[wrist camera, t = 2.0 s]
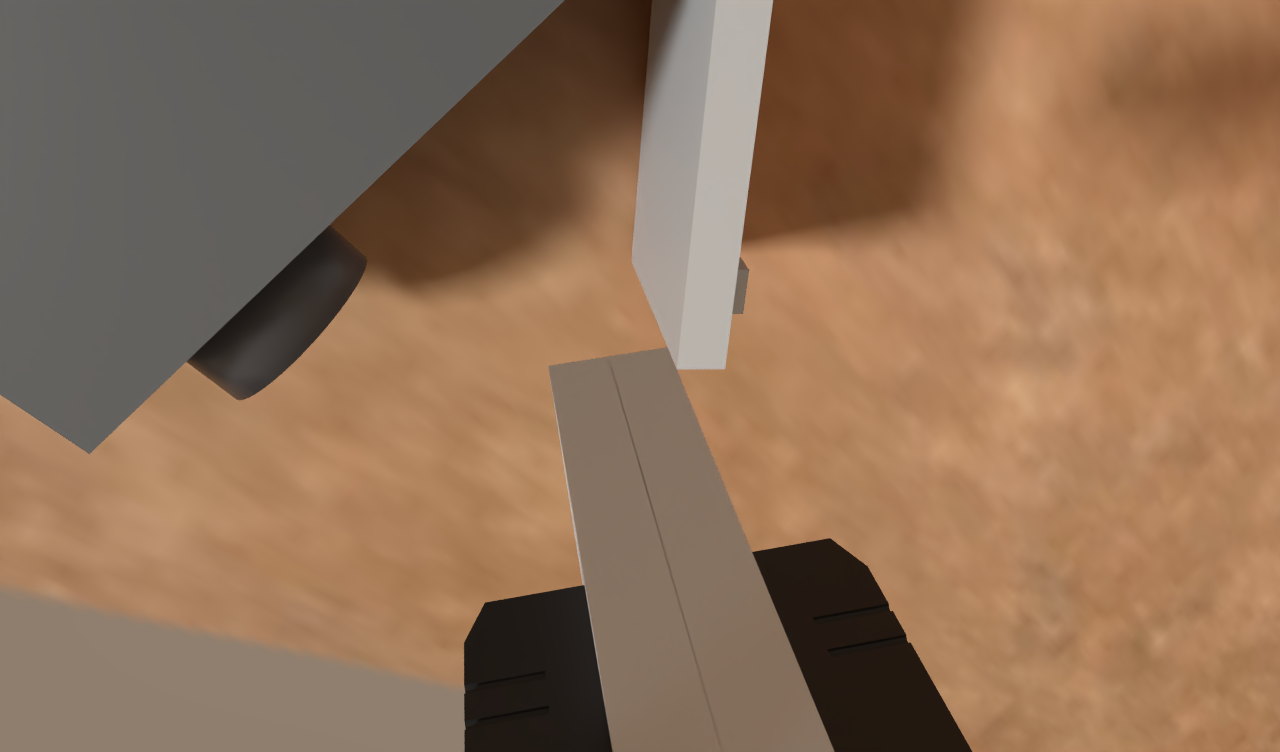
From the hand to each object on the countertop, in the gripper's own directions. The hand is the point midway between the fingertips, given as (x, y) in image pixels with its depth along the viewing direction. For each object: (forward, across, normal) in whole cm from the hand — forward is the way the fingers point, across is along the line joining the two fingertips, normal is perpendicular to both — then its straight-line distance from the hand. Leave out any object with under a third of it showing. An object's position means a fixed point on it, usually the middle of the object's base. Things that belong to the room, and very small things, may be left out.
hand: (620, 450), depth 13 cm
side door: (+13, +3, +2) cm, 14 cm away
